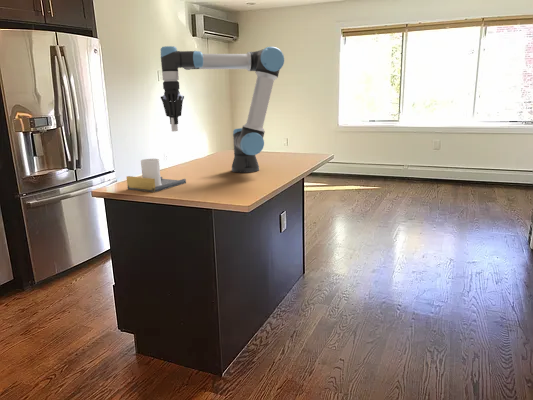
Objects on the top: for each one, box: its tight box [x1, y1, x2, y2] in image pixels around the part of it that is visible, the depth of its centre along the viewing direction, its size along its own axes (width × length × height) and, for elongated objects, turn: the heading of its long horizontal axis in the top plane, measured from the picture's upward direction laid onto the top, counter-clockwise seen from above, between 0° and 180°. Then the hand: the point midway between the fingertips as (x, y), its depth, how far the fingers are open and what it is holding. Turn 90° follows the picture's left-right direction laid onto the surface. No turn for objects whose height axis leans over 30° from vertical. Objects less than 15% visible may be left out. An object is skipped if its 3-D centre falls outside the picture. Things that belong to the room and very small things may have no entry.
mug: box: [140, 158, 162, 187], centre depth 200 cm, size 12×8×12 cm
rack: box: [126, 175, 187, 193], centre depth 203 cm, size 16×22×6 cm
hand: (174, 131), depth 210 cm, fingers closed
